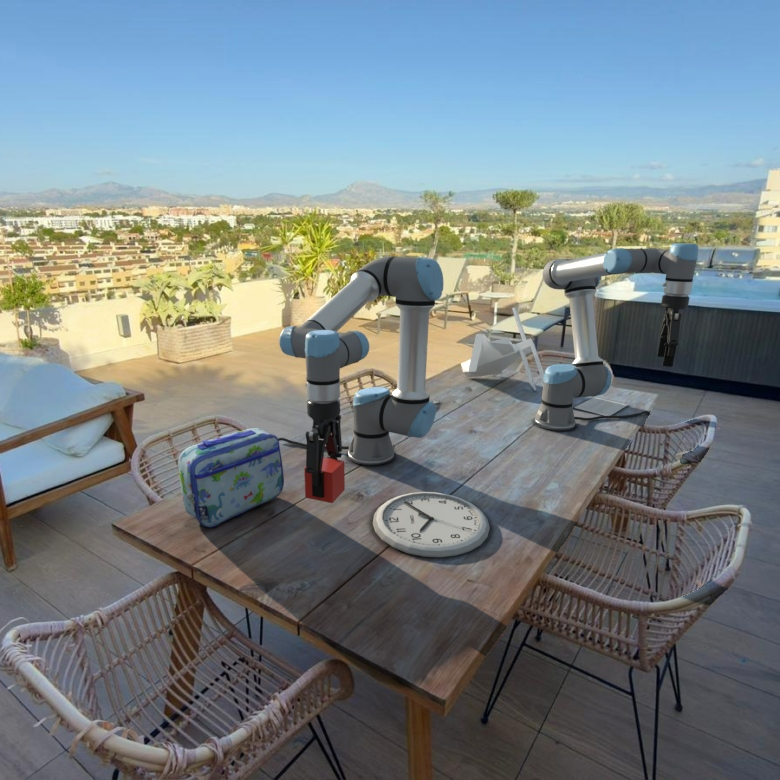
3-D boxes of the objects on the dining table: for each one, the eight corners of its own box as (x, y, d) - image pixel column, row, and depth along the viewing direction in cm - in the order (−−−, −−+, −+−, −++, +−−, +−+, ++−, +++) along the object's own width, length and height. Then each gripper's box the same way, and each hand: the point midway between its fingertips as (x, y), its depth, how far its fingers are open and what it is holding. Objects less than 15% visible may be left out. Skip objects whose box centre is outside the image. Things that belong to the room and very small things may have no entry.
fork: (425, 410, 217) (425, 406, 216) (435, 399, 231) (435, 395, 231) (431, 411, 216) (431, 407, 215) (441, 400, 230) (441, 396, 230)
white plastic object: (482, 419, 265) (461, 396, 241) (463, 346, 287) (443, 319, 263) (553, 395, 253) (539, 368, 228) (528, 321, 275) (513, 290, 250)
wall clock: (504, 548, 122) (376, 553, 119) (504, 554, 122) (376, 559, 120) (474, 487, 150) (370, 490, 148) (473, 492, 151) (370, 495, 148)
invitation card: (608, 416, 214) (573, 407, 224) (608, 416, 214) (573, 408, 224) (628, 404, 229) (594, 396, 238) (628, 405, 229) (594, 397, 238)
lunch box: (198, 536, 127) (190, 457, 121) (179, 518, 135) (170, 443, 128) (288, 499, 145) (285, 429, 139) (267, 486, 152) (263, 418, 146)
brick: (318, 485, 131) (317, 456, 128) (344, 490, 129) (344, 460, 126) (305, 497, 125) (304, 467, 122) (332, 503, 122) (332, 472, 120)
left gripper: (327, 385, 129) (329, 469, 136) (286, 410, 111) (291, 505, 118) (355, 388, 127) (355, 474, 134) (318, 414, 109) (320, 512, 116)
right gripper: (657, 290, 175) (647, 352, 181) (668, 298, 152) (656, 369, 158) (683, 291, 172) (671, 354, 179) (697, 300, 150) (684, 371, 156)
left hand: (325, 488), depth 126 cm, fingers closed on brick, 7 cm apart
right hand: (664, 361), depth 169 cm, fingers open, 13 cm apart
